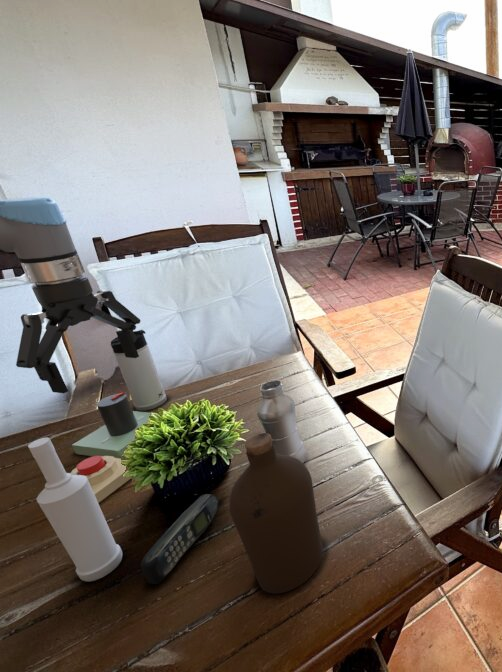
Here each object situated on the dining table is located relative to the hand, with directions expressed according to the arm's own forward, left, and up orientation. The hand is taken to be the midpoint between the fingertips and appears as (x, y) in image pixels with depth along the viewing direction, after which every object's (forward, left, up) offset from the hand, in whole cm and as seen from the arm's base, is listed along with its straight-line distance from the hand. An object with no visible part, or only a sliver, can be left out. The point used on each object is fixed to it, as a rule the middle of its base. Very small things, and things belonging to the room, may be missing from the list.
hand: (99, 373), depth 85 cm
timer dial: (-1, +1, -16) cm, 16 cm away
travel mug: (-8, +13, -18) cm, 24 cm away
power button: (+7, -11, -14) cm, 19 cm away
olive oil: (+56, -20, -18) cm, 62 cm away
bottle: (+26, -25, -18) cm, 40 cm away
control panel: (-1, +1, -18) cm, 18 cm away
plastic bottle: (+42, -1, -18) cm, 46 cm away
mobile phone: (+36, -19, -18) cm, 45 cm away
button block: (+7, -11, -18) cm, 22 cm away
